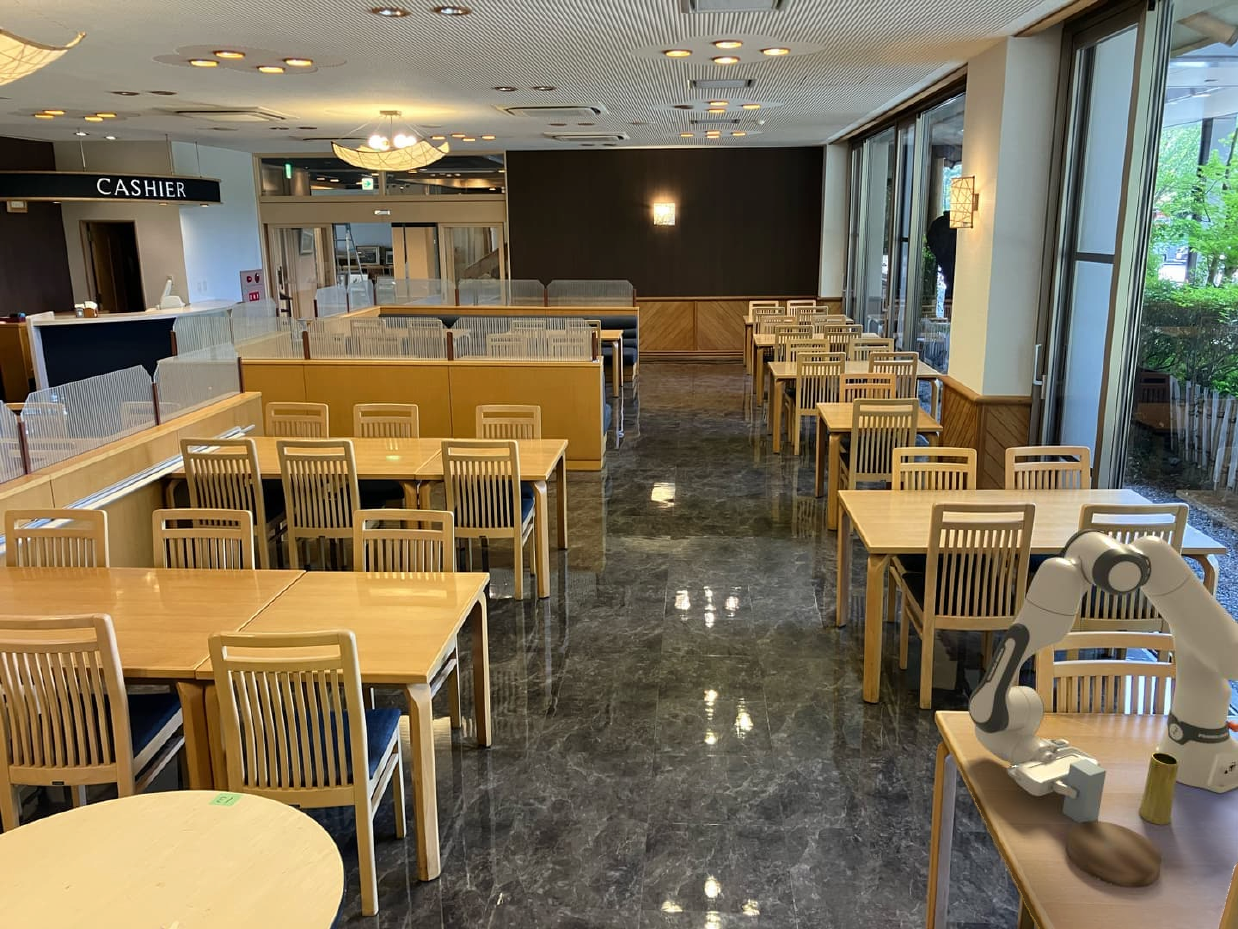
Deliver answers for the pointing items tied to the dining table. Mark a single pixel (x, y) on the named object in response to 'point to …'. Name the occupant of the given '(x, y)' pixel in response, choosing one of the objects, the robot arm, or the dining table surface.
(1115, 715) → the dining table surface
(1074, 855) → the walnut base
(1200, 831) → the dining table surface
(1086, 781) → the gray block
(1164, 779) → the vase
